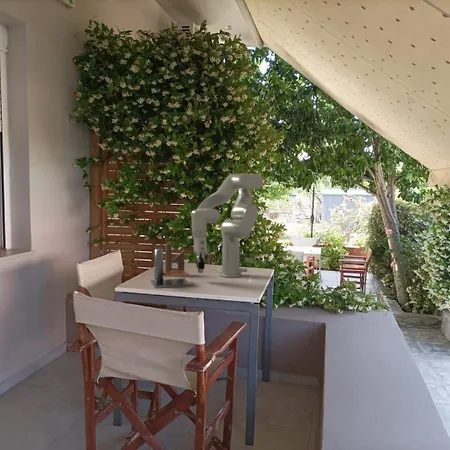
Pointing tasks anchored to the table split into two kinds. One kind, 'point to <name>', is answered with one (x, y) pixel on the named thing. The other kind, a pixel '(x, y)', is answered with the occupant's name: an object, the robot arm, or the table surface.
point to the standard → (167, 274)
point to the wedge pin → (199, 269)
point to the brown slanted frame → (178, 259)
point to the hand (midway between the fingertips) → (200, 267)
